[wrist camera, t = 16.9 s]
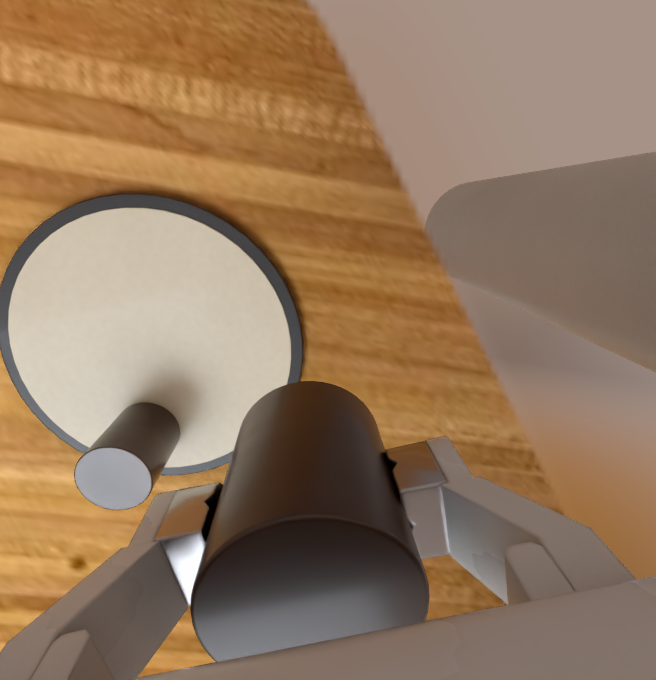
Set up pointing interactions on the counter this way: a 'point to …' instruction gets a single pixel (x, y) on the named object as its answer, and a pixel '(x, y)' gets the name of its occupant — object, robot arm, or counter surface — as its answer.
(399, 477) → the robot arm
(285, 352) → the board
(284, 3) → the counter surface
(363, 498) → the eye puck
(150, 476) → the eye puck
